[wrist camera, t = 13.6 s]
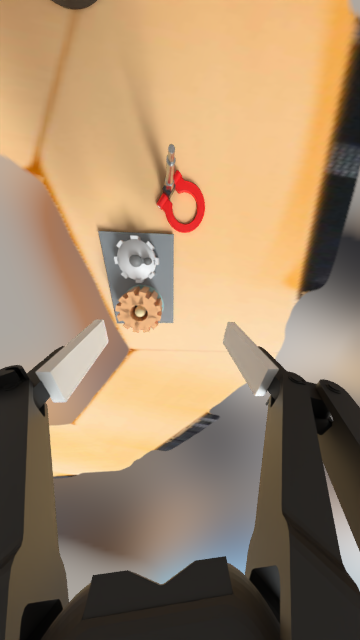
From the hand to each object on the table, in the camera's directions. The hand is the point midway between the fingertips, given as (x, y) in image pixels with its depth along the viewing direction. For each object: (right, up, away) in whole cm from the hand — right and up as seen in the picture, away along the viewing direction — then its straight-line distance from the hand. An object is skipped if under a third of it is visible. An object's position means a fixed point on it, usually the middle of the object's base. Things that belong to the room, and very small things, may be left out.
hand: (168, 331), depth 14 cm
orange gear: (-9, +5, +21) cm, 23 cm away
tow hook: (+2, +25, +14) cm, 29 cm away
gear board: (-8, +11, +20) cm, 24 cm away
